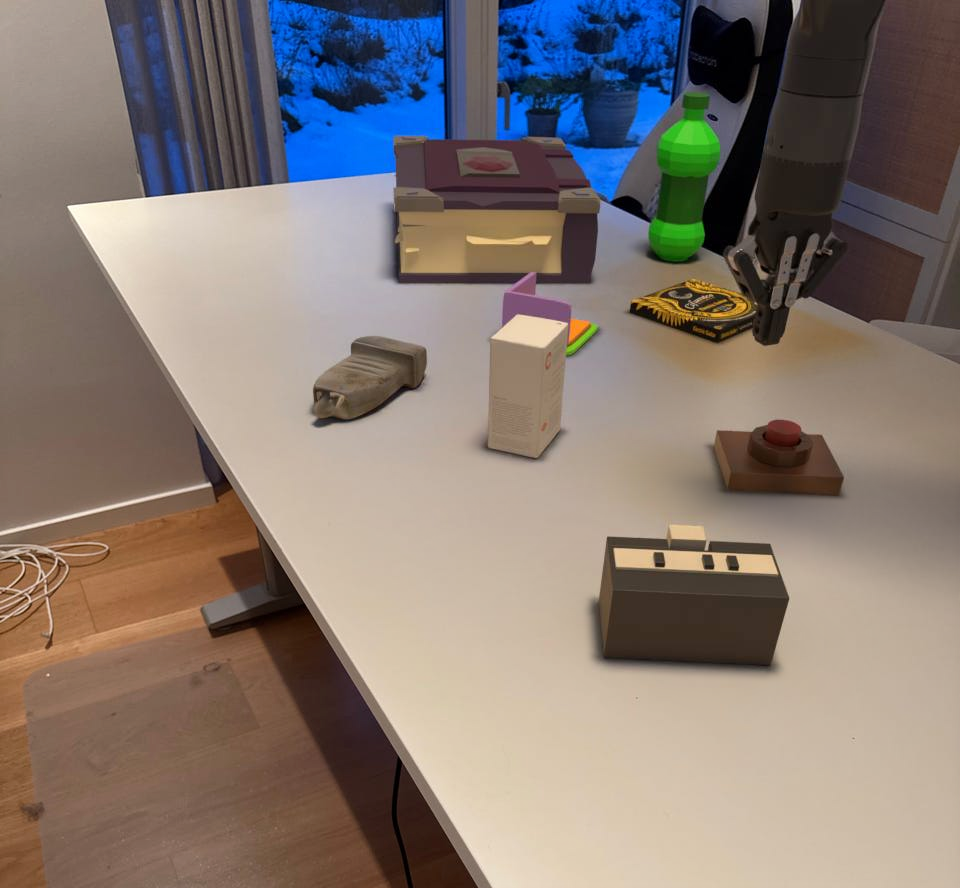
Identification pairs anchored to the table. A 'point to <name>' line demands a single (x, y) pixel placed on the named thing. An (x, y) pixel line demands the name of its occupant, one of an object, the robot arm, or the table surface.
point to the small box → (526, 384)
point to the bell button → (782, 433)
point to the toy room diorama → (544, 311)
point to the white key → (686, 537)
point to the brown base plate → (776, 464)
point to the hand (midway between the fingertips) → (766, 342)
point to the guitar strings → (698, 309)
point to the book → (492, 211)
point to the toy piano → (691, 601)
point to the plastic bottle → (684, 181)
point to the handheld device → (368, 376)
